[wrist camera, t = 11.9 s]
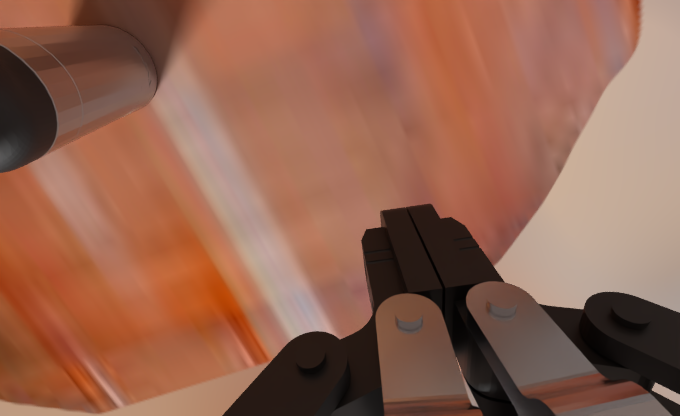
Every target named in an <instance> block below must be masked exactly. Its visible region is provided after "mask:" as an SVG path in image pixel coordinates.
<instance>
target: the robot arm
mask: <svg viewBox="0 0 680 416" xmlns="http://www.w3.org/2000/svg"><path fill="white" fill-rule="evenodd" d="M156 87H157V73H156V70H155V66H154V63H153V61H152V59H151V57H150V55H149V54H148V52H147V51H146V49H145V48H144V47H143V46H142V44H141V43H140V42H139V41H138V40H137V39H135V38H134V37H133V36H131V35H130V34H128V33H127V32H125V31H123V30H121V29H119V28H115V27H112V26H106V25H87V26H53V27H25V28H0V173H3V172H8V171H12V170H15V169H17V168H20V167H22V166H24V165H27V164H29V163H31V162H33V161H35V160H37V159H39V158H41V157H43V156H45V155H47V154H49V153H51V152H53V151H55V150H57V149H59V148H61V147H63V146H65V145H67V144H69V143H71V142H73V141H75V140H77V139H79V138H81V137H83V136H85V135H87V134H89V133H91V132H93V131H95V130H97V129H99V128H101V127H103V126H105V125H107V124H109V123H111V122H113V121H115V120H118V119H120V118H122V117H124V116H126V115H128V114H130V113H132V112H134V111H136V110H138V109H140V108H142V107H144V106H145V105H146V104H148V103H149V102H150V100H151V99H152V98H153V96H154V94H155V91H156ZM380 217H381V227H380V228H373V229H366V231H365V234H364V236H363V238H362V240H361V242H362V250H363V258H364V266H365V274H366V281H367V287H368V292H369V297H370V303H371V308H372V313H373V314H372V317H371V319H370V320H369V322H368V323H367V324H366V325H365V326H364V327H363V328H362V329H360V330H359V331H357V332H356V333H354V334H352V335H349V336H347V337H345V338H343V339H341V340H339V339H338V338H337V337H336V336H334V335H332V334H330V333H326V332H319V331H316V332H309V333H305V334H302V335H300V336H298V337H296V338H294V339H293V340H291V341H290V342H289V343H288V344H287V345H286V346H285V347H284V348H283V349H282V350H281V351H280V352H279V353H278V355H277V356H276V357H275V358H274V359H273V360H272V361H271V362H270V364H269V365H268V366H267V367H266V368H265V369H264V370H263V371H262V372H261V373H260V375H259V376H258V377H257V378H256V379H255V380H254V381H253V382H252V383H251V384H250V386H249V387H248V388H247V389H246V390H245V391H244V392H243V393H242V394H241V396H240V397H239V398H238V399H237V400H236V401H235V402H234V403H233V404H232V406H231V407H230V408H229V409H228V410H227V411H226V412H225V413H224V415H223V416H680V405H679V404H677V403H675V402H673V401H671V400H669V399H667V398H665V397H663V396H662V395H660V394H658V393H656V392H654V391H652V388H653V386H654V384H655V382H656V383H658V384H660V385H662V386H664V387H666V388H668V389H670V390H672V391H674V392H676V393H678V394H680V313H678V312H676V311H673V310H670V309H668V308H665V307H663V306H660V305H657V304H654V303H652V302H649V301H647V300H644V299H641V298H639V297H636V296H633V295H629V294H624V293H619V292H602V293H597V294H594V295H592V296H591V297H589V298H588V299H587V301H586V303H585V306H584V309H573V308H563V307H554V306H546V305H541V304H538V303H537V302H536V301H535V299H534V298H532V296H531V295H529V294H528V293H527V292H526V291H524V290H523V289H521V288H519V287H517V286H515V285H512V284H508V283H505V282H504V281H503V279H502V278H501V276H500V275H499V274H498V273H497V271H496V269H495V268H494V266H493V265H492V264H491V262H490V261H489V259H488V258H487V256H486V255H485V254H484V252H483V251H482V249H481V248H479V245H478V244H477V242H476V241H475V239H473V237H472V235H471V234H470V232H469V231H468V229H467V228H466V227H465V225H463V224H461V223H460V222H458V221H456V220H455V219H453V218H452V217H449V218H442V219H440V217H439V216H438V214H437V212H436V211H435V209H434V207H433V206H432V204H424V205H417V206H410V207H406V208H405V207H404V208H397V209H390V210H383V211H381V212H380ZM456 357H457V359H456ZM457 360H458V362H459V365H460V367H461V372H460V369H459V366H458V362H457Z"/></svg>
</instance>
